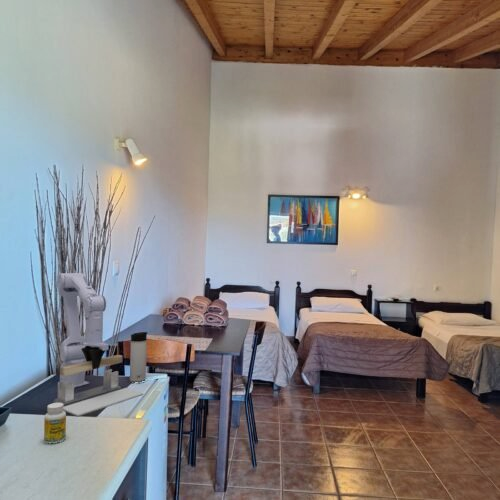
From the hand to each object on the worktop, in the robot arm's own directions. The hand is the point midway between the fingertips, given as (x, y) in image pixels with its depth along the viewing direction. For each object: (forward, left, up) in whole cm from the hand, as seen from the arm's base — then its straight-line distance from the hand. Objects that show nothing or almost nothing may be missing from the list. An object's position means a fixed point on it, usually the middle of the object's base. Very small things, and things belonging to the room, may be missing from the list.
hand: (93, 367), depth 145 cm
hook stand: (-2, 0, -11) cm, 11 cm away
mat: (+7, 0, -11) cm, 13 cm away
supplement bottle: (+22, -26, -11) cm, 36 cm away
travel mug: (-2, +22, -11) cm, 25 cm away
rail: (0, 0, 0) cm, 0 cm away
